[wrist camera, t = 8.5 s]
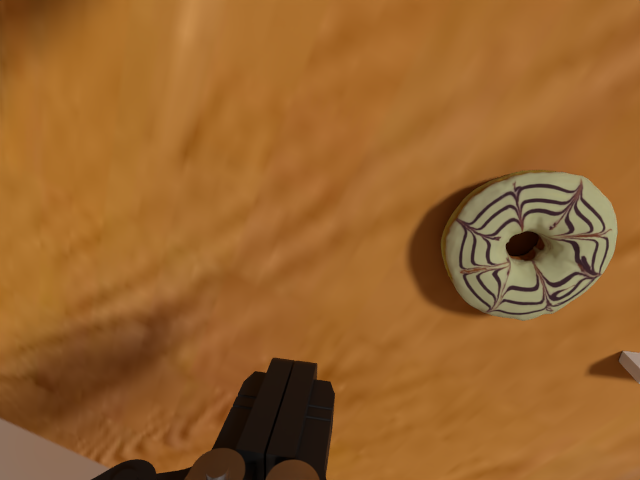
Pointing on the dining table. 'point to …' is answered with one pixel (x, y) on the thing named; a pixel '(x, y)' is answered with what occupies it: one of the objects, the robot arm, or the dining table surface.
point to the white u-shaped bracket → (631, 363)
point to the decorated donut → (545, 258)
